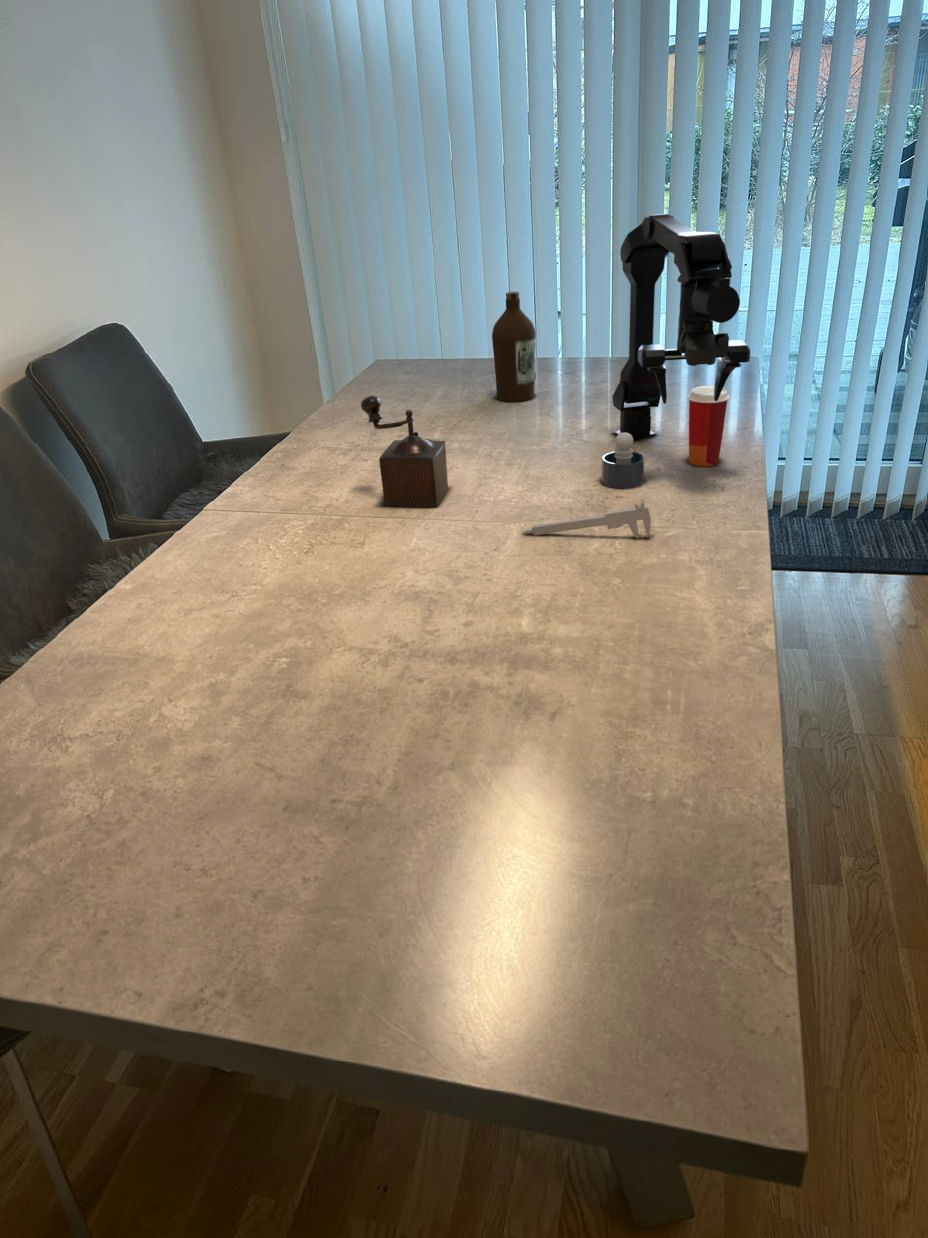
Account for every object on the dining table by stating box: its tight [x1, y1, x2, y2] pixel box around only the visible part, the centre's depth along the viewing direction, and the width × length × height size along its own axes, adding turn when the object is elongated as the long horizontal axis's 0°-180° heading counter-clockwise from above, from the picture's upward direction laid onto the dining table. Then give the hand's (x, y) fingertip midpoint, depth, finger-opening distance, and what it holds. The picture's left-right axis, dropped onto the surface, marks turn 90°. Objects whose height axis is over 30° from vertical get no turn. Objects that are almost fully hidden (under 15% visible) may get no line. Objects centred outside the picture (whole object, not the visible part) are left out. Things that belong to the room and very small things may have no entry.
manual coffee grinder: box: [360, 395, 450, 508], centre depth 163 cm, size 16×11×18 cm
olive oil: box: [491, 291, 537, 403], centre depth 218 cm, size 11×11×25 cm
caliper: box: [524, 500, 652, 539], centre depth 145 cm, size 20×1×6 cm, turn 78°
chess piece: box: [614, 433, 634, 464], centre depth 165 cm, size 5×5×9 cm
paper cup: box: [686, 385, 730, 467], centre depth 171 cm, size 8×8×14 cm
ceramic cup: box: [600, 451, 646, 489], centre depth 166 cm, size 8×8×5 cm
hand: (690, 401), depth 162 cm, fingers open, 9 cm apart
